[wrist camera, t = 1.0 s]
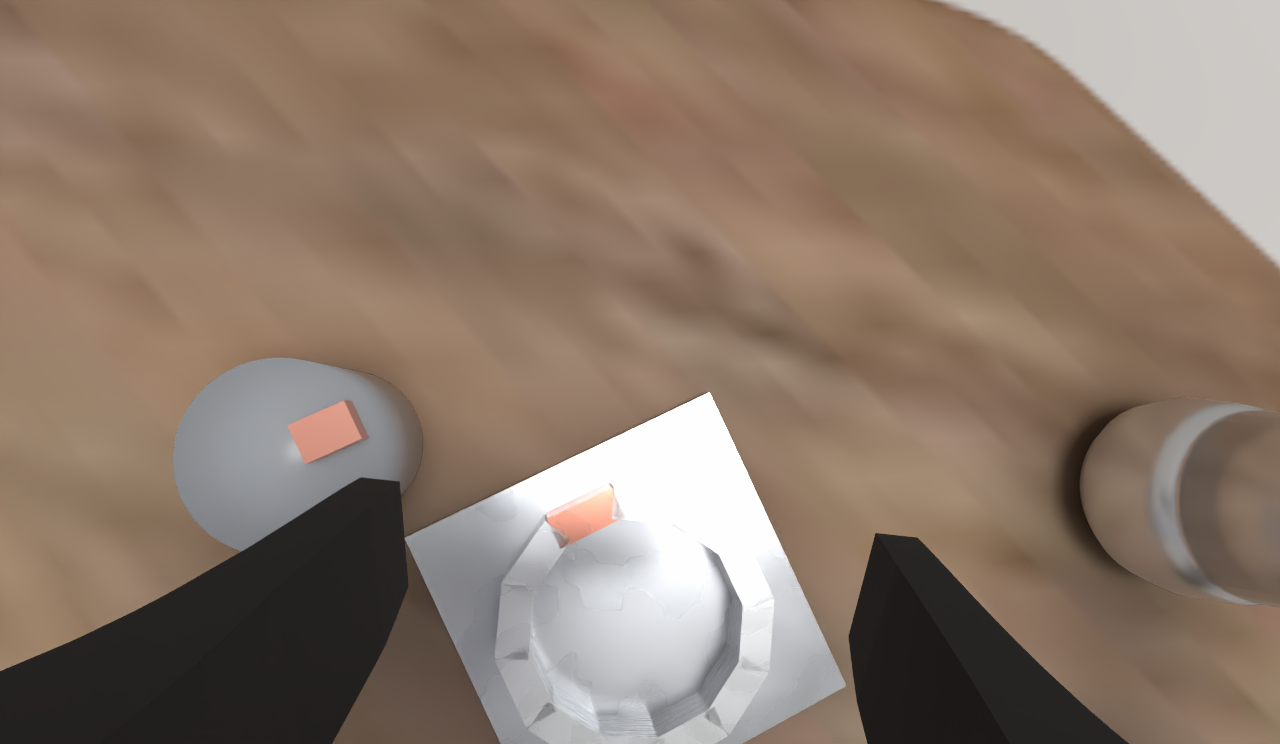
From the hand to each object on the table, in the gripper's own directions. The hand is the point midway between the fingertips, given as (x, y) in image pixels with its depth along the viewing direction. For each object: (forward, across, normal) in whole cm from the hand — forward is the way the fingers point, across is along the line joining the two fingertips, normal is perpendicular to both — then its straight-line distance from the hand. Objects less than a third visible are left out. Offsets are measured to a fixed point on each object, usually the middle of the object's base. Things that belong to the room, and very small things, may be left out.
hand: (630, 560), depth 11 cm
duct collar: (+10, 0, +10) cm, 14 cm away
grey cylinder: (+11, +10, +6) cm, 16 cm away
